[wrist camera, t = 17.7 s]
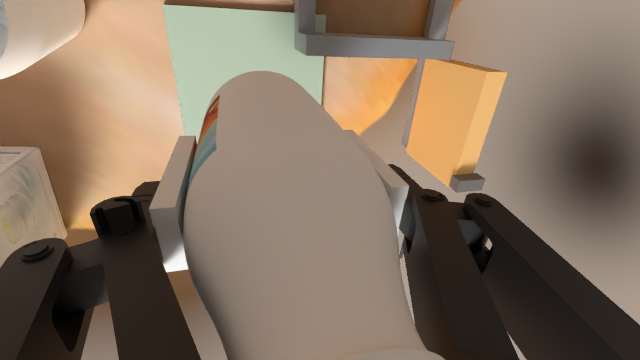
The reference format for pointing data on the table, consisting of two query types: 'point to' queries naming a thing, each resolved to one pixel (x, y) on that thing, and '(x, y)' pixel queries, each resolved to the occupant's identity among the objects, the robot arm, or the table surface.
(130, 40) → the table surface
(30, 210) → the skincare box
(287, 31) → the mat
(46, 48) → the cup
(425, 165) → the tan wooden slab
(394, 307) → the milk bottle
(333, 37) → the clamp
